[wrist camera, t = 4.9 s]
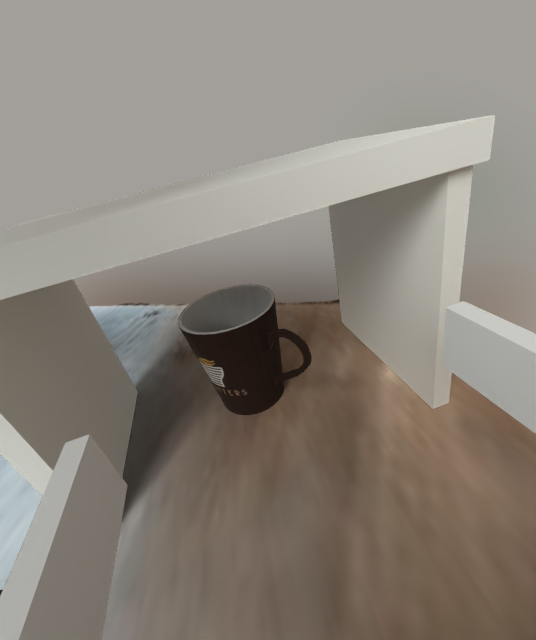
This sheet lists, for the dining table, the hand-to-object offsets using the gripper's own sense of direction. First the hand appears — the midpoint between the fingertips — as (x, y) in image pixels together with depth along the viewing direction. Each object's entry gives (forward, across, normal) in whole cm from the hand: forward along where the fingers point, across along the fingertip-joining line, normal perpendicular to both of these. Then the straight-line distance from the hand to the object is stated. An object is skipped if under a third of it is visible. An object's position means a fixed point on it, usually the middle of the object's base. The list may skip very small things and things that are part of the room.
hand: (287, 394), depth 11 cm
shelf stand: (+15, -1, -13) cm, 20 cm away
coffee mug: (+15, -1, -13) cm, 20 cm away
